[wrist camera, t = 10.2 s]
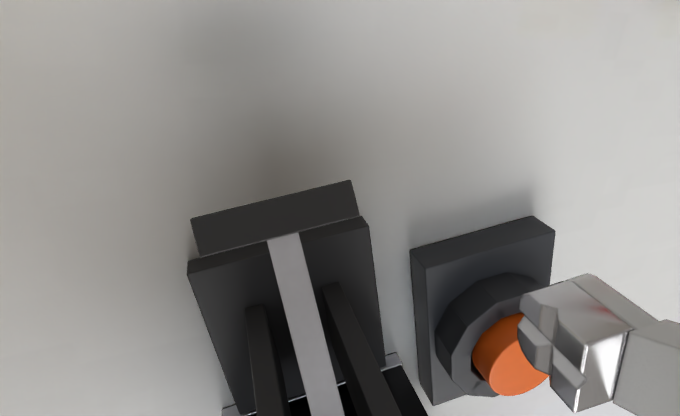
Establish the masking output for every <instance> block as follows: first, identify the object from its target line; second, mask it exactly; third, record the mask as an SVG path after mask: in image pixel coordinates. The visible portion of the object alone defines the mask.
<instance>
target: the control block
mask: <svg viewBox="0 0 680 416" xmlns="http://www.w3.org/2000/svg"><path fill="white" fill-rule="evenodd" d="M554 240H555V230H554V229H552V228H551V227H549V226H548V225H546V224H545V223H543V222H541V221H540V220H538V219H537V218H535V217H534V216H530V217H526V218H523V219H519V220H516V221H512V222H509V223H505V224H502V225H498V226H495V227H491V228H487V229H484V230H480V231H477V232H473V233H470V234H466V235H463V236H459V237H456V238H452V239H449V240H445V241H441V242H438V243H434V244H431V245H427V246H424V247H420V248H417V249H413V250H411V251H410V256H411V269H412V282H413V296H414V309H415V322H416V336H417V349H418V362H419V375H420V384H421V386H422V388H423V389H424V391H425V393H426V395H427V397H428V398H429V400H430V402H431V404H432V405H433V406H435V405H438V404H441V403H444V402H447V401H449V400H452V399H455V398H458V397H461V396H463V395H466V394H467V395H472V396H485V397H495V396H498V395H500V394H498V393H496V392H495V391H493V390H492V388H491V387H490V386H489V384H488V383H487V382H486V380H485V379H484V378H483V376H482V375H481V374H480V372H479V371H478V369H477V368H476V367H475V365H474V363H473V359H472V351H473V348H474V347H475V345H476V343H477V341H478V340H479V338H480V336H481V335H482V333H484V332H485V331H486V330H487V329H489V328H490V327H491V326H492V325H494V324H495V323H496V322H497V321H499V320H500V319H501V318H504V317H507V316H510V315H513V314H516V313H522V312H521V311H520V310H519V300H520V298H521V296H522V295H523V294H524V293H527V292H531V291H534V290H537V289H540V288H543V287H546V286H549V285H550V276H551V267H552V258H553V249H554Z"/></svg>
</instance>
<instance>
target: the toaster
mask: <svg viewBox="0 0 680 416" xmlns="http://www.w3.org/2000/svg"><path fill="white" fill-rule="evenodd" d="M385 359H386V366H385V367H382V368H380V370H381V372H382V374H383V376H384V379H385V381H386V383H387V385H388V387H389V389H390V391H391V393H392V396H393V398H394V400H395V402H396V404H397V406H398V408H399V410H400V413H401V415H402V416H428V415H427V413H426V411H425V409H424V407H423V405H422V403H421V401H420V400H419V398H418V396H417V394H416V392H415V390H414V388H413V386H412V385H411V383H410V381H409V379H408V377H407V375H406V373H405V371H404V370H403V365H402V362H401V360H400V358H399V356H398V354H397V353H393V354H390V355H387V356H385ZM336 383H337V387H338V391H339V395H340V399H341V403H342V407H343V411H344V415H345V416H357V413H356V410H355V407H354V405H353V402H352V399H351V396H350V394H349V391H348V388H347V385H346V382H345V380H342V381H339V382H336ZM288 402H289V407H290V412H291V416H311V412H310V408H309V404H308V400H307V396H306V393H303V394H300V395H297V396H294V397H291V398H288ZM222 416H257V412H256V409H255V410H252V411H249V412H246V413H243V414H239V412H238V409H237V407H236V405H234V406H231V407H228V408H225V409H222Z"/></svg>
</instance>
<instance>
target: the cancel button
mask: <svg viewBox="0 0 680 416" xmlns="http://www.w3.org/2000/svg"><path fill="white" fill-rule="evenodd" d="M523 316H524V314H523V313H516V314H513V315H510V316H507V317H504V318H501V319H500V320H499V321H497V322H496V323H495V324H494V325H492V326H491V327H490V328H489V329H487V330H486V331H485V332H484V333H482V335H481V336H480V338H479V340H478V341H477V343H476V345H475V347H474V348H473V351H472V359H473V363H474V365H475V367H476V368H477V369H478V371H479V372H480V374H481V375H482V376H483V378H484V379H485V380H486V382H487V383H488V384H489V386H490V387H491V388H492V390H493V391H495V392H496V393H498V394H500V395H504V396H514V395H519V394H522V393H525V392H527V391H529V390H531V389H533V388H535V387H536V386H538V385H539V384H540V383H542V382H543V381H544V380H545V379H546V378H547V377H548V376H549V375H548V374H545V373H543V372H541V371H538V370H536V369H535V368H534V367H533V366H532V365H531V364H530V363H529V361H528V360H527V359H526V357H525V355H524V354H523V352H522V350H521V348H520V345H519V342H518V338H517V325H518V324H519V322H520V321H521V319H522V318H523Z"/></svg>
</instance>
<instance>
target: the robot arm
mask: <svg viewBox="0 0 680 416" xmlns="http://www.w3.org/2000/svg"><path fill="white" fill-rule="evenodd" d="M519 310H520V311H521V312H522V313H523V314H524V316H523V318H522V319H521V321H520V322H519V324H518V325H517V338H518V342H519V345H520V348H521V350H522V352H523V354H524V355H525V357H526V359H527V360H528V361H529V363H530V364H531V365H532V366H533V367H534V368H535V369H536V370H538V371H541V372H543V373H545V374H548V375H549V380H550V387H551V388H552V389H553V390H554V391H555V392H556V394H557V395H558V396H559V397H560V398H561V399H562V400H563V401H564V403H565V404H566V405H567V406H568V407H569V408H570V409H571V410H572V412H573V413H577V412H580V411H582V410H585V409H588V408H591V407H594V406H597V405H600V404H603V403H606V402H609V401H612V400H613V403H614V404H616V405H618V406H620V407H622V408H624V409H625V410H627V411H629V412H631V413H633V414H635V415H637V416H680V323H677V322H673V321H670V320H667V319H666V320H662V321H658V320H657V319H655V318H654V317H652V316H651V315H650V314H648V313H647V312H645V311H644V310H643V309H641V308H640V307H638V306H637V305H636V304H634V303H633V302H631V301H630V300H629V299H627V298H626V297H624V296H623V295H622V294H620V293H619V292H617V291H616V290H615V289H613V288H612V287H610V286H609V285H608V284H606V283H605V282H603V281H602V280H601V279H599V278H598V277H597V276H595V275H592V274H588V273H586V274H583V275H580V276H577V277H574V278H571V279H568V280H565V281H561V282H558V283H555V284H552V285H549V286H546V287H543V288H540V289H537V290H534V291H531V292H527V293H524V294H523V295H522V296H521V298H520V300H519Z"/></svg>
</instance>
